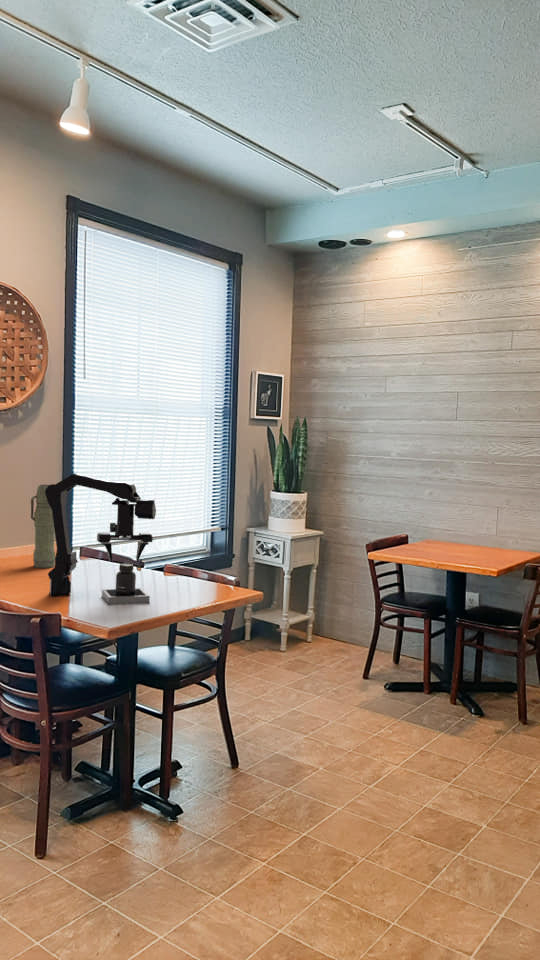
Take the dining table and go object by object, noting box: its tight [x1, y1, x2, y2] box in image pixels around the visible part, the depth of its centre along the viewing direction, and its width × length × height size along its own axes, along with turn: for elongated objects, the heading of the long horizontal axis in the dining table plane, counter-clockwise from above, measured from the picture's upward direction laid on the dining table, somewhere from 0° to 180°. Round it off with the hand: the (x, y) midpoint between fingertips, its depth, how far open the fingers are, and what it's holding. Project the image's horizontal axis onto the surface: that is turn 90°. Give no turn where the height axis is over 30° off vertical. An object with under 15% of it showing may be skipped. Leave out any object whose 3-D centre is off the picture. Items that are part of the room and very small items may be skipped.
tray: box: [101, 587, 151, 606], centre depth 271 cm, size 14×14×2 cm
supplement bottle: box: [115, 563, 137, 597], centre depth 271 cm, size 7×7×12 cm
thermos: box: [30, 484, 56, 569], centre depth 330 cm, size 9×12×35 cm
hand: (124, 561), depth 274 cm, fingers open, 9 cm apart
